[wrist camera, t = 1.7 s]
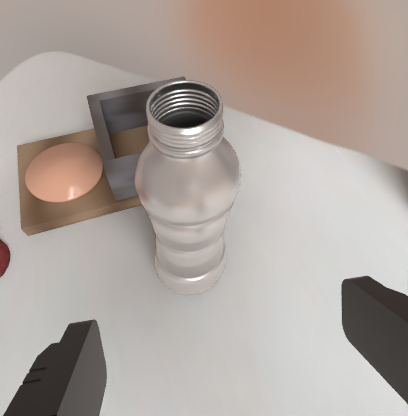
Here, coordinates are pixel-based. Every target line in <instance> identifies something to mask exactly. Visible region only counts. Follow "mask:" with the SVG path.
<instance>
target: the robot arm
mask: <svg viewBox="0 0 408 416" xmlns="http://www.w3.org/2000/svg"><path fill="white" fill-rule="evenodd" d="M342 325H343V329H344V332H345V335H346V337H347V339H348V340H349V342H350V343H351V344H352V345H353V346H354V347H355V348H356V349H357V350H358V351H359V352H360V353H361V355H362V356H363V357H364V358H365V359H366V360H367V361H368V362H369V363H370V364H371V365H372V366H373V367H374V368H375V369H376V371H377V372H378V373H379V374H380V375H381V376H382V377H383V378H384V379H385V380H386V381H387V382H388V383H389V384H390V385H391V387H392V388H393V389H394V390H395V391H396V392H397V393H398V394H399V395H400V396H401V397H402V398H403V399H404V400H405V401H406V402H407V404H408V296H407V295H405V294H403V293H400V292H397V291H394V290H392V289H389V288H386V287H385V286H383V285H382V284H380V283H379V282H377V281H375V280H374V279H372V278H371V277H369V276H362V277H356V278H350V279H345V280H344V281H343V282H342ZM29 371H30V372H29V373H28V374H27V375H26V377H25V379H24V381H23V385H21V386H20V387H19V389H18V391H17V393H16V394H15V396H14V398H13V400H12V401H11V403H10V405H9V406H8V408H7V410H6V412H5V413H4V415H3V416H99V413H100V409H101V405H102V400H103V396H104V392H105V387H106V378H107V372H106V362H105V357H104V352H103V347H102V342H101V337H100V332H99V327H98V324H97V321H96V320H89V321H83V322H76V323H71V324H69V325H68V327H67V329H66V331H65V333H64V335H63V337H62V339H61V341H60V342H59V343H53V344H51V345H49V346H48V347H47V348H46V349H45V350H44V351H43V352H42V353H41V354H40V355H38V356H37V358H36V360H35V362H34V363H33V365H32V367H31V368H30V370H29Z"/></svg>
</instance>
